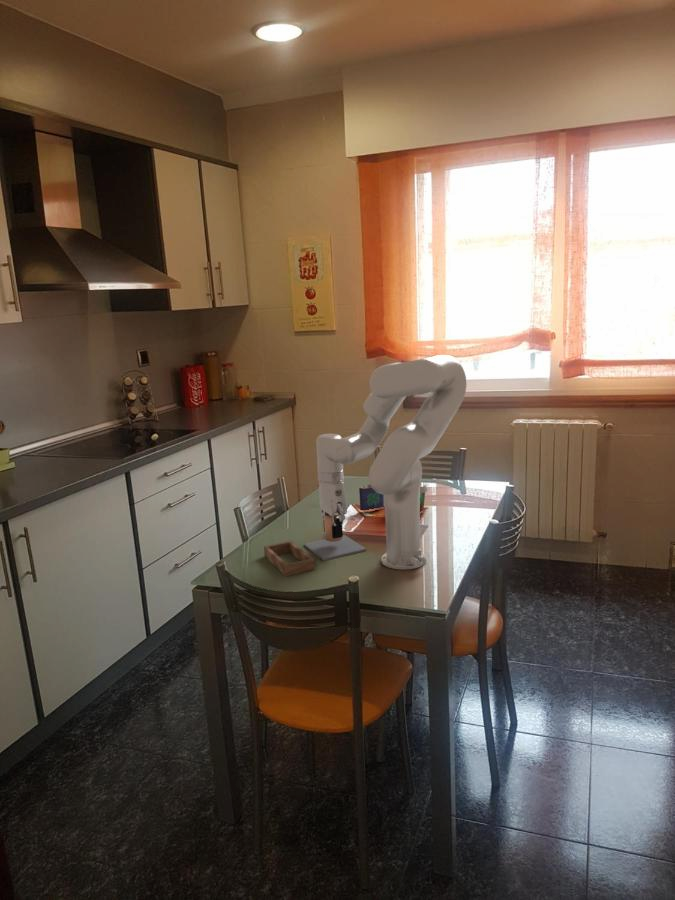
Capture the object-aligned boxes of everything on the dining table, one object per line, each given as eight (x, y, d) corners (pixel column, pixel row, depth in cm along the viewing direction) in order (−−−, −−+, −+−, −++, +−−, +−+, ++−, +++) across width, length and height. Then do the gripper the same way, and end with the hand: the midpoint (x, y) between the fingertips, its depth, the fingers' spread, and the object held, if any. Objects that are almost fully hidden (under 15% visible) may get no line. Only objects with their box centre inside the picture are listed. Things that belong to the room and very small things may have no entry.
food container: (389, 517, 223) (388, 488, 221) (392, 511, 229) (391, 483, 227) (425, 518, 220) (425, 489, 218) (427, 512, 226) (427, 484, 224)
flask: (382, 507, 234) (381, 478, 232) (386, 509, 232) (385, 480, 229) (358, 511, 231) (357, 482, 228) (362, 514, 228) (361, 484, 225)
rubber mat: (366, 550, 194) (366, 548, 194) (323, 560, 189) (323, 558, 188) (344, 536, 207) (344, 534, 207) (303, 545, 201) (303, 543, 201)
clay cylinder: (344, 539, 196) (343, 517, 194) (329, 542, 194) (328, 520, 192) (337, 534, 200) (336, 512, 199) (322, 537, 198) (321, 515, 197)
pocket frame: (314, 569, 183) (314, 559, 182) (285, 576, 179) (285, 565, 178) (291, 550, 198) (290, 540, 197) (264, 556, 194) (263, 546, 193)
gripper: (355, 480, 187) (357, 541, 191) (329, 468, 202) (332, 524, 206) (331, 484, 184) (334, 546, 188) (307, 471, 199) (310, 528, 203)
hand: (333, 534), depth 197 cm, fingers closed on clay cylinder, 5 cm apart
